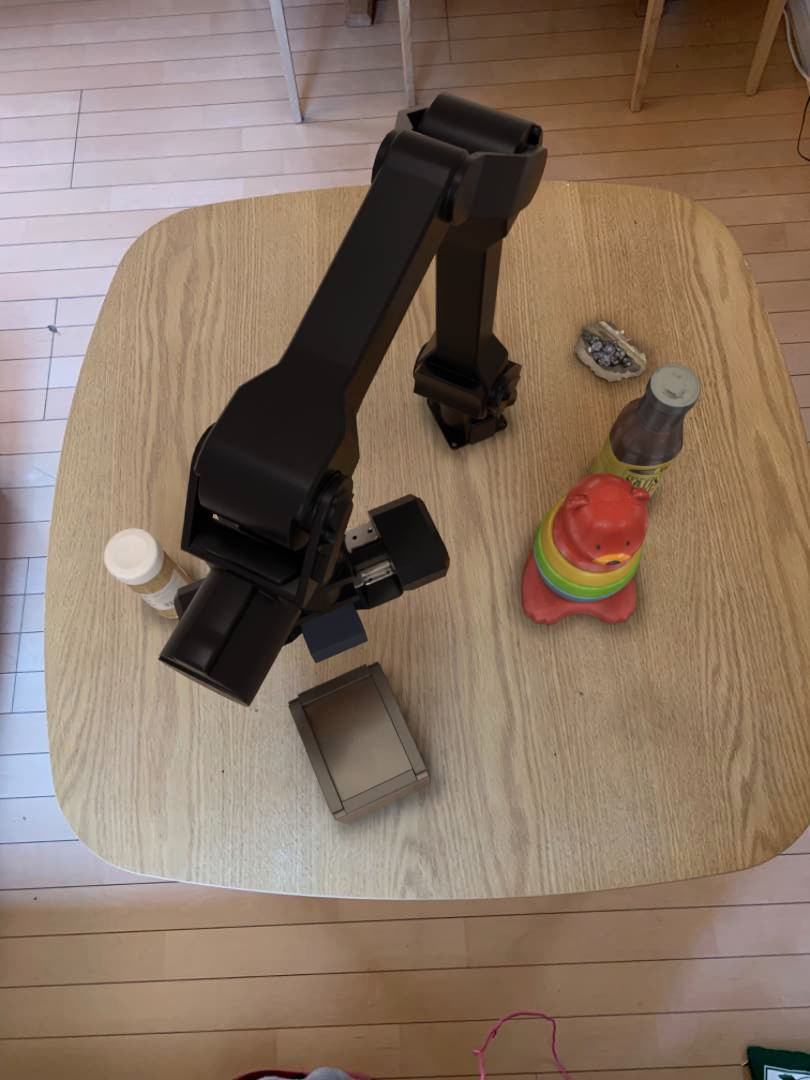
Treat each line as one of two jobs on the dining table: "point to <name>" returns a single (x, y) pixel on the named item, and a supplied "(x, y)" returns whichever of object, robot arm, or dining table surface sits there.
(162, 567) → the sprinkles bottle
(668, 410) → the sauce bottle
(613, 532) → the stacking bear
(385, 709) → the backing frame
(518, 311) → the dining table surface
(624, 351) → the mineral rock specimen
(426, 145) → the robot arm
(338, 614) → the dark blue rectangular block
